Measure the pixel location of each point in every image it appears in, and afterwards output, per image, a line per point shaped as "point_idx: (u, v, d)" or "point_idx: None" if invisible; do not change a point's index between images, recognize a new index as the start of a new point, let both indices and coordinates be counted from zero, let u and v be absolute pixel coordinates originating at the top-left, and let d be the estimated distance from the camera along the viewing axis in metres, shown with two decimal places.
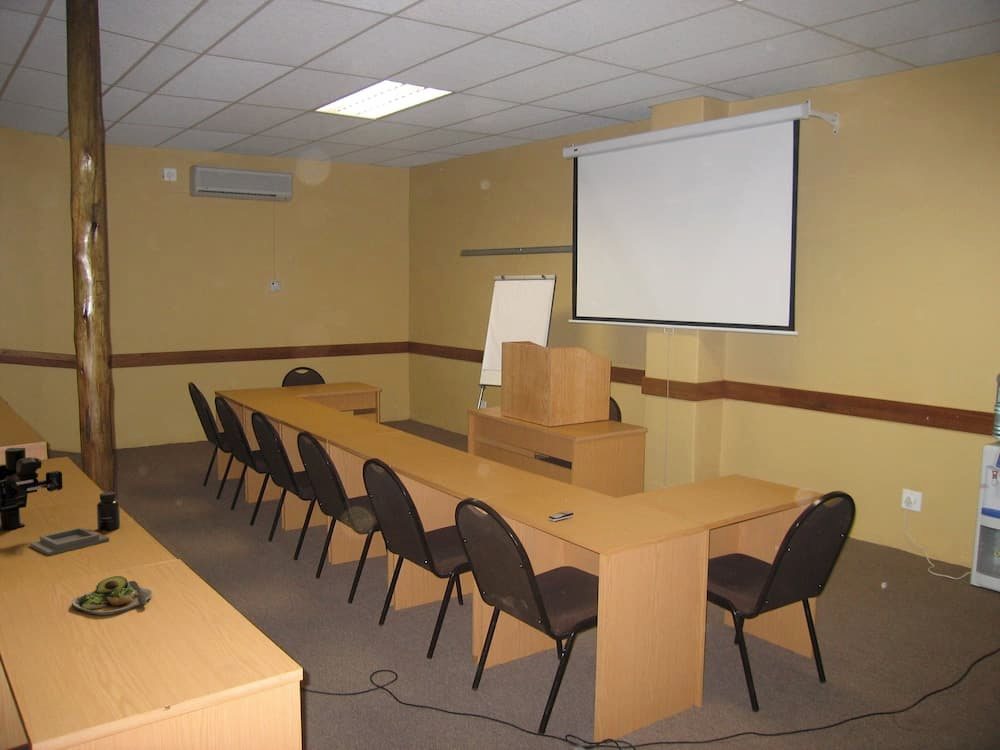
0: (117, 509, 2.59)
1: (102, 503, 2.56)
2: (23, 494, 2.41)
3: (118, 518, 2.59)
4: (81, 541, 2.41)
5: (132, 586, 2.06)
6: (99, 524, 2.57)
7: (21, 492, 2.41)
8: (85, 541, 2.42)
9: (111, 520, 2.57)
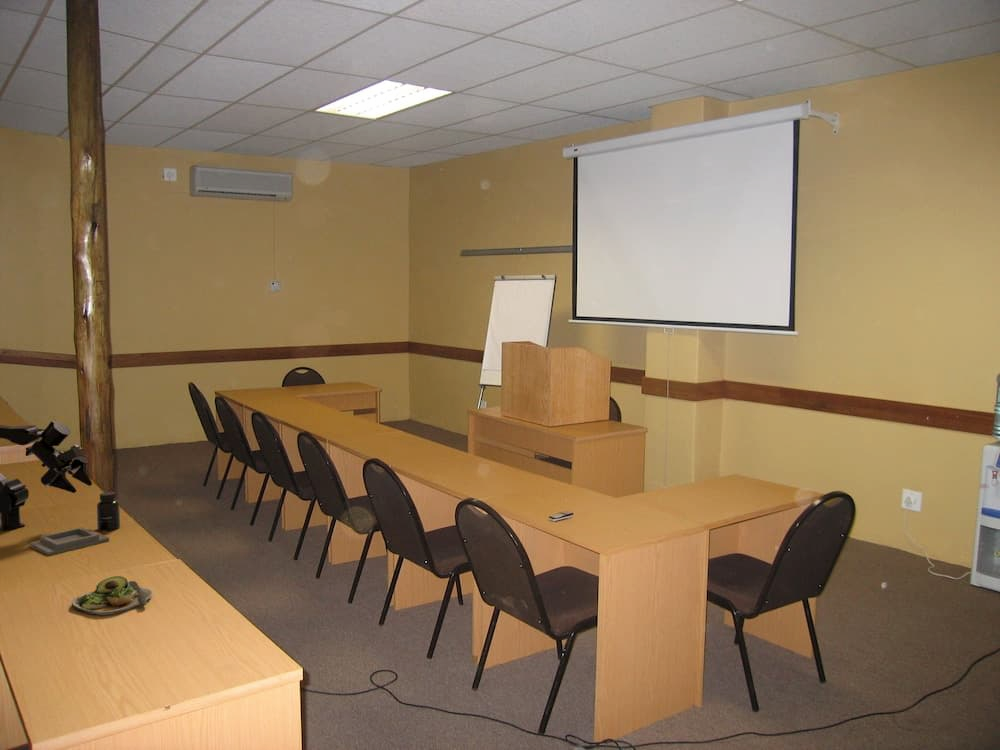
0: (117, 509, 2.59)
1: (102, 503, 2.56)
2: (71, 491, 2.54)
3: (118, 518, 2.59)
4: (81, 541, 2.41)
5: (132, 586, 2.06)
6: (99, 524, 2.57)
7: (70, 488, 2.53)
8: (85, 541, 2.42)
9: (111, 520, 2.57)
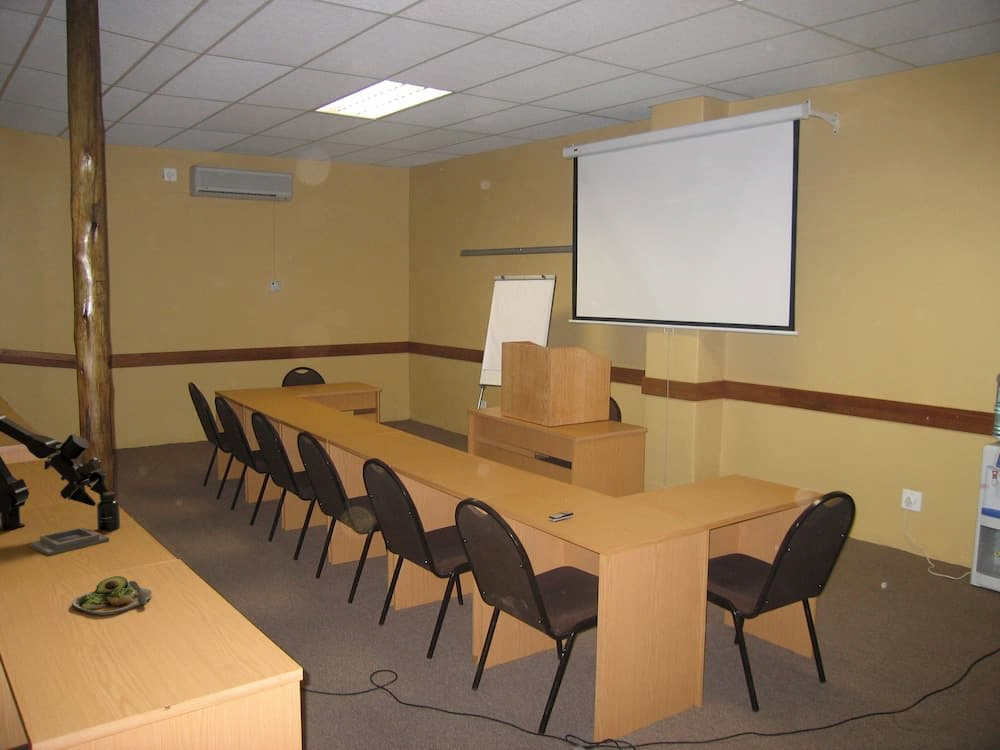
0: (117, 509, 2.59)
1: (102, 503, 2.56)
2: (90, 504, 2.54)
3: (118, 518, 2.59)
4: (81, 541, 2.41)
5: (132, 586, 2.06)
6: (99, 524, 2.57)
7: (89, 501, 2.54)
8: (85, 541, 2.42)
9: (111, 520, 2.57)
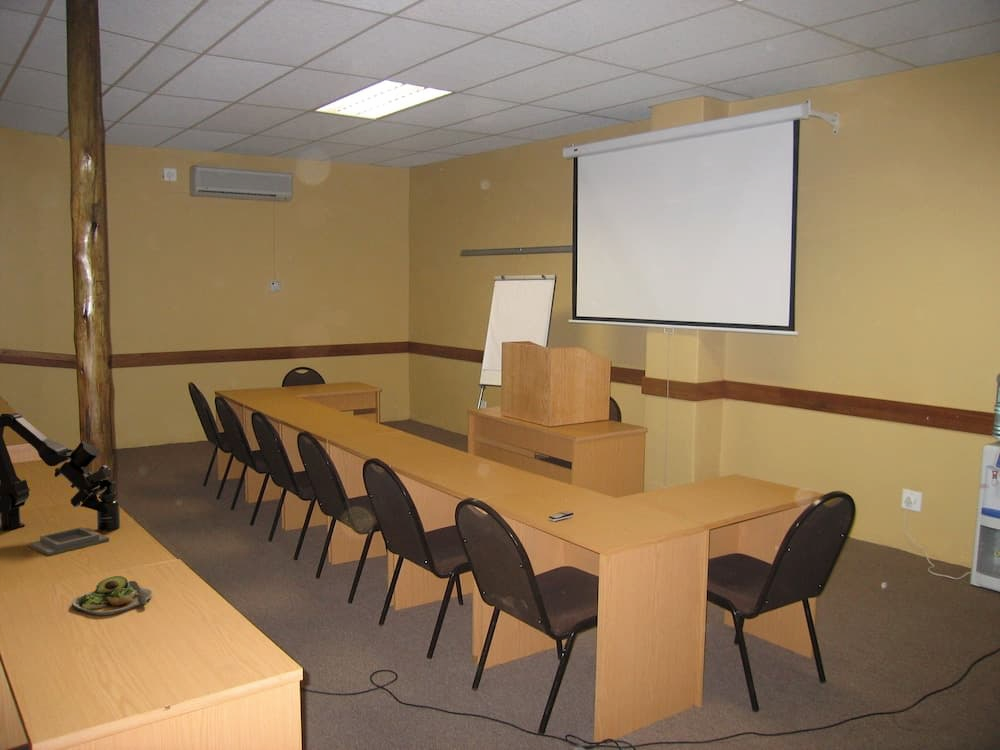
0: (117, 509, 2.59)
1: (102, 503, 2.56)
2: (102, 511, 2.55)
3: (118, 518, 2.59)
4: (81, 541, 2.41)
5: (132, 586, 2.06)
6: (99, 524, 2.57)
7: (101, 508, 2.55)
8: (85, 541, 2.42)
9: (111, 520, 2.57)
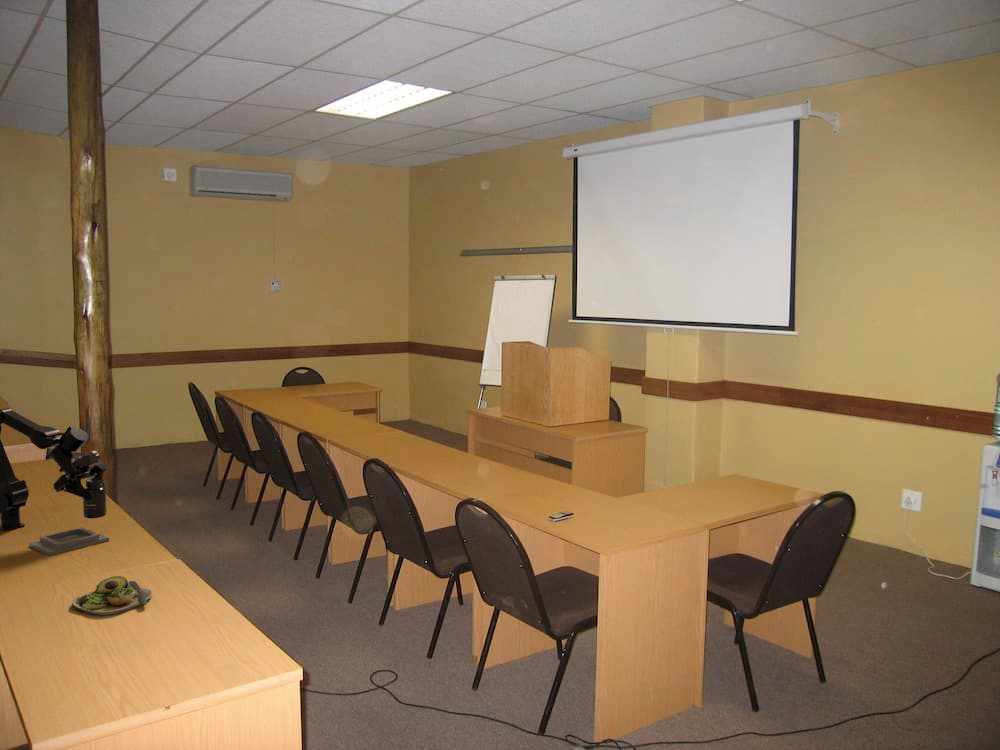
0: (102, 496, 2.51)
1: (87, 489, 2.50)
2: (86, 498, 2.48)
3: (103, 506, 2.52)
4: (81, 541, 2.41)
5: (132, 586, 2.06)
6: (84, 511, 2.50)
7: (85, 495, 2.48)
8: (85, 541, 2.42)
9: (95, 507, 2.50)
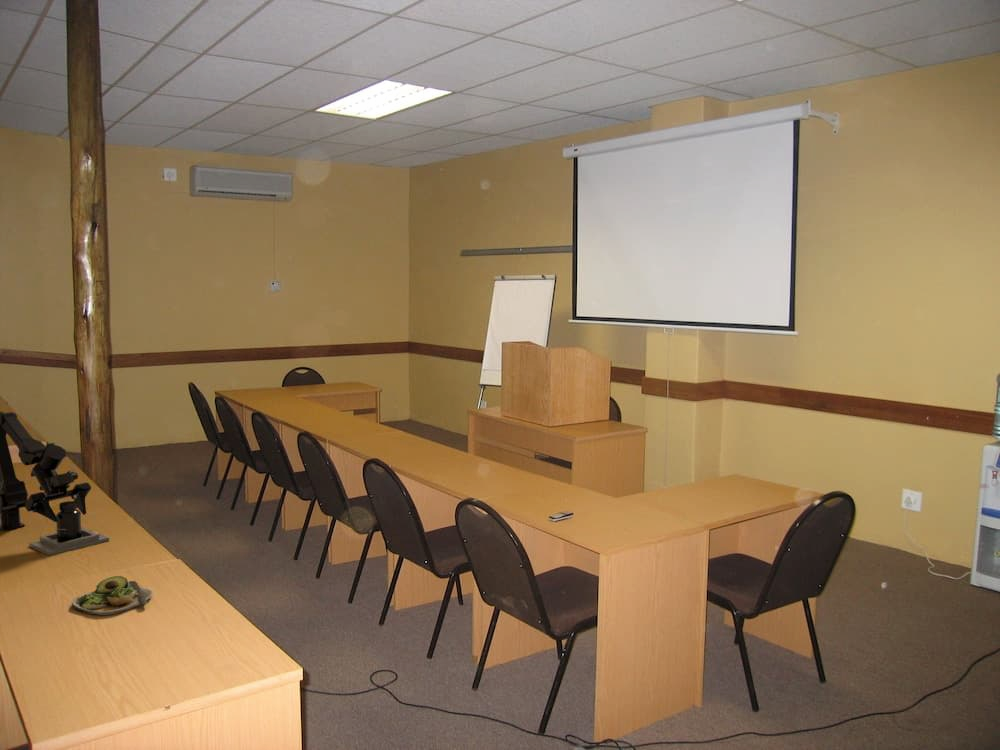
0: (73, 521, 2.42)
1: (59, 513, 2.42)
2: (53, 519, 2.39)
3: (75, 531, 2.43)
4: (81, 541, 2.41)
5: (132, 586, 2.06)
6: None
7: (51, 517, 2.39)
8: (85, 541, 2.42)
9: (66, 532, 2.41)
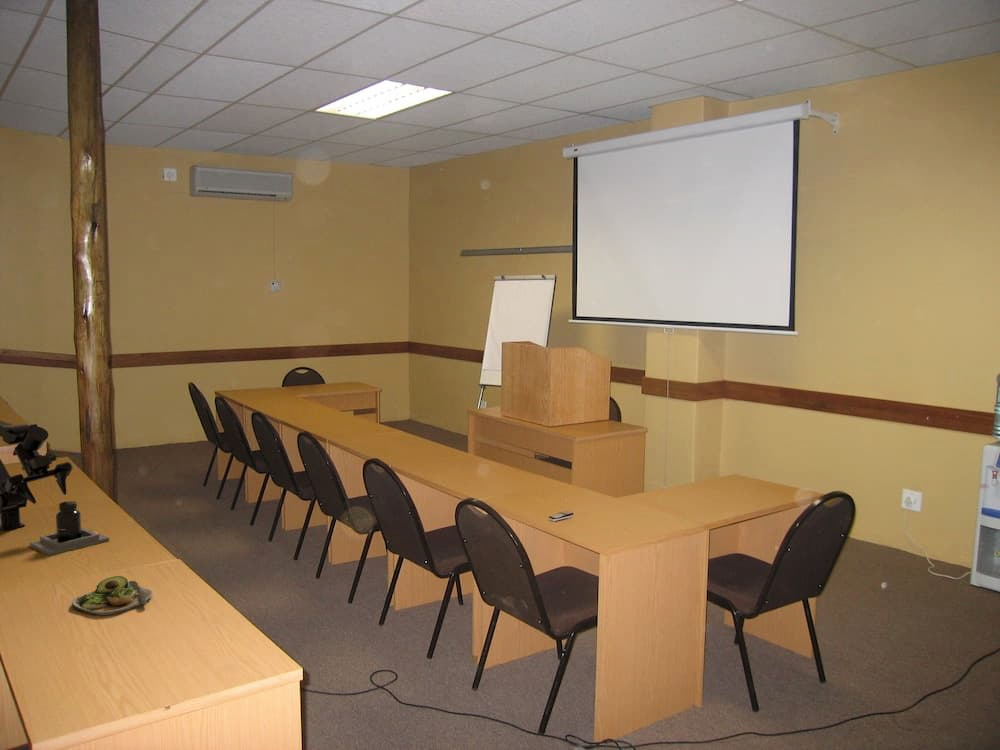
0: (73, 521, 2.42)
1: (59, 513, 2.42)
2: (31, 501, 2.44)
3: (75, 531, 2.43)
4: (81, 541, 2.41)
5: (132, 586, 2.06)
6: None
7: (30, 498, 2.43)
8: (85, 541, 2.42)
9: (65, 532, 2.41)
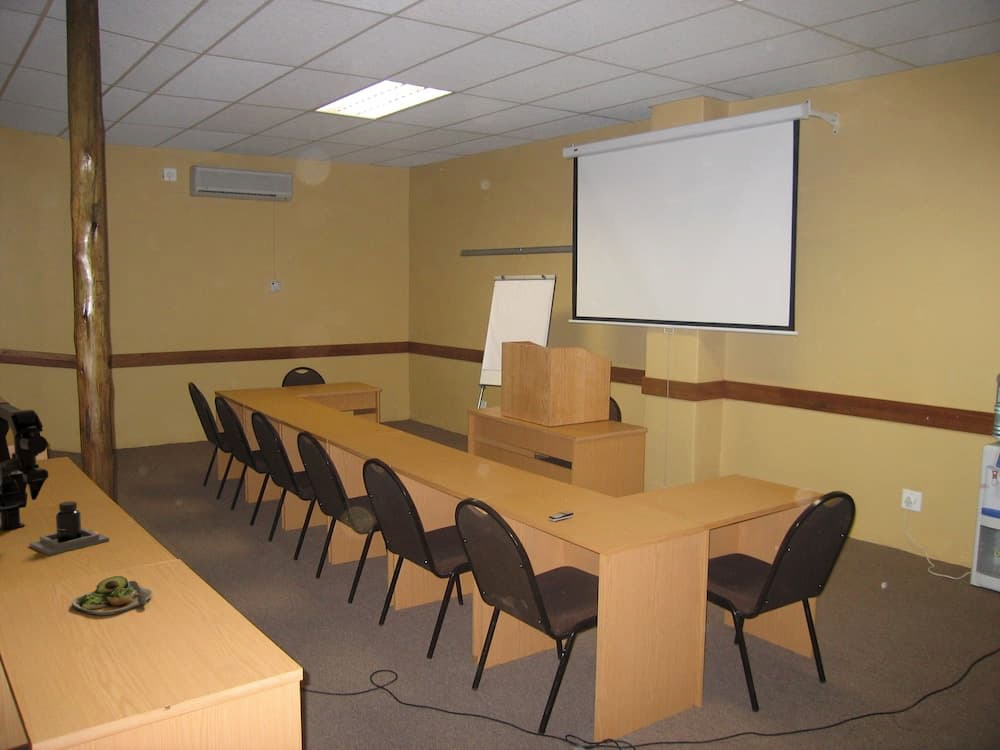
0: (73, 521, 2.42)
1: (59, 513, 2.42)
2: None
3: (75, 531, 2.43)
4: (81, 541, 2.41)
5: (132, 586, 2.06)
6: None
7: None
8: (85, 541, 2.42)
9: (65, 532, 2.41)
